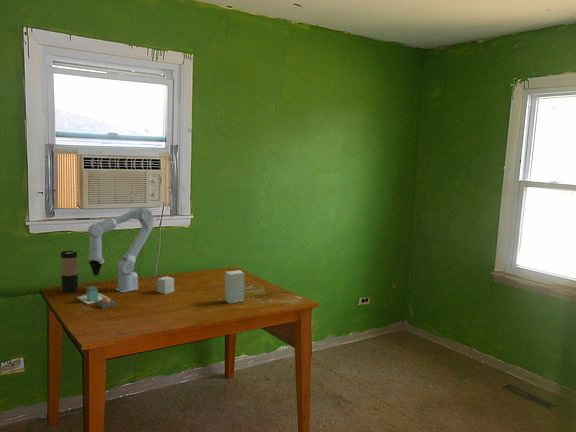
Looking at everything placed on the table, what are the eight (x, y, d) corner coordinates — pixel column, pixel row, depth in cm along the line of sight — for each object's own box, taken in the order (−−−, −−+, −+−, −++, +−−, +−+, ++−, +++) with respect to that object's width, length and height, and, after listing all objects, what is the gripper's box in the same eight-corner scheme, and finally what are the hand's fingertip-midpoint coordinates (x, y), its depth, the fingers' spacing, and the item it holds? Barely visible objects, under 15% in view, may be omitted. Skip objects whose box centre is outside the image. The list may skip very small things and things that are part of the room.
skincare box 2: (240, 298, 243) (240, 269, 241) (244, 302, 238) (245, 272, 236) (224, 300, 240) (224, 271, 238) (228, 304, 234) (228, 273, 232)
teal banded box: (94, 298, 235) (94, 286, 234) (97, 299, 233) (97, 287, 232) (87, 299, 232) (86, 287, 232) (90, 301, 230) (90, 289, 229)
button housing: (109, 302, 230) (109, 298, 230) (115, 305, 226) (115, 301, 226) (96, 305, 226) (96, 301, 226) (102, 308, 222) (102, 304, 222)
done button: (108, 303, 229) (107, 297, 228) (111, 305, 226) (111, 298, 226) (100, 304, 226) (100, 298, 226) (104, 306, 224) (103, 300, 223)
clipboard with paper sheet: (99, 293, 245) (99, 291, 245) (112, 300, 235) (112, 298, 235) (74, 297, 236) (74, 295, 236) (87, 305, 226) (87, 303, 226)
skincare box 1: (166, 289, 255) (166, 275, 254) (174, 291, 252) (174, 277, 251) (157, 292, 250) (157, 278, 249) (165, 294, 247) (165, 280, 246)
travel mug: (62, 293, 243) (60, 254, 240) (61, 289, 250) (60, 251, 247) (78, 291, 246) (77, 253, 244) (77, 288, 253) (76, 250, 251)
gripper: (81, 247, 244) (82, 273, 246) (94, 251, 234) (94, 279, 235) (95, 245, 249) (95, 271, 251) (108, 250, 239) (108, 277, 240)
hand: (96, 275), depth 243 cm, fingers closed
